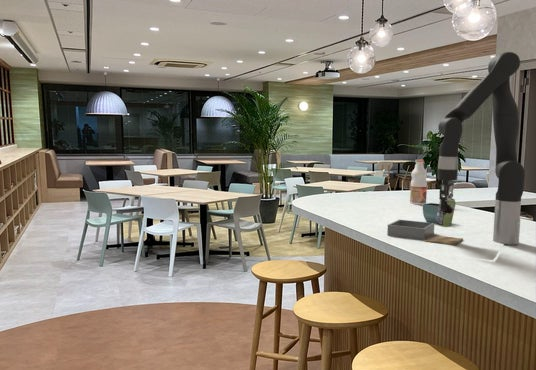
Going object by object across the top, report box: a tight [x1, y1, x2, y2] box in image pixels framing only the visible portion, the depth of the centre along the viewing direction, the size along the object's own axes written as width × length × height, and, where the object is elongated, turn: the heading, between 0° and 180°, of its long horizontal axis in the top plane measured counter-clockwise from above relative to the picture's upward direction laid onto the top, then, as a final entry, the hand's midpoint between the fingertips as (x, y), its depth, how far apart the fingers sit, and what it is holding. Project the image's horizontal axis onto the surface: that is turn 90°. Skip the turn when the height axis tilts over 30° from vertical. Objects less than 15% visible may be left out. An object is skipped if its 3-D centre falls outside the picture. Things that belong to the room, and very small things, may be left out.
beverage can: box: [435, 197, 457, 228], centre depth 193 cm, size 6×7×12 cm
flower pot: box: [421, 202, 439, 224], centre depth 234 cm, size 9×9×9 cm
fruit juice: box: [409, 159, 428, 206], centre depth 288 cm, size 9×9×28 cm
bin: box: [386, 219, 435, 241], centre depth 206 cm, size 16×16×4 cm
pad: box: [424, 234, 464, 246], centre depth 194 cm, size 12×12×1 cm
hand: (445, 209), depth 193 cm, fingers closed on beverage can, 6 cm apart
